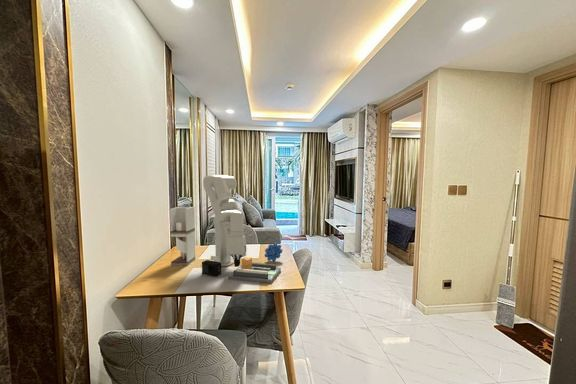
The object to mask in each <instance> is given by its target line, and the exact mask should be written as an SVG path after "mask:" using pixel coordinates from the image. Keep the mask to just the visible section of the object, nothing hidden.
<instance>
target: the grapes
mask: <svg viewBox="0 0 576 384" xmlns="http://www.w3.org/2000/svg"><path fill="white" fill-rule="evenodd" d="M264 252H265V253H264V257H265V258H266V259H267V261H269V262H271V261H272V262H275V261H277V259H280V258H281V254H282V253H283V249H282V245H281V244H278V243H277V242H273V244H272V243H270V244H268V246H267V248H265V249H264Z"/></svg>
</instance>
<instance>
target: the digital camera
mask: <svg viewBox="0 0 576 384" xmlns="http://www.w3.org/2000/svg"><path fill="white" fill-rule="evenodd" d="M201 274H202V275H206V276H211V277H215V278H217V277H219V276H221V275H222V266H221V262H216V261H214V260H211V259H206V260H204V261H202V262H201Z"/></svg>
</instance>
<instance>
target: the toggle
mask: <svg viewBox="0 0 576 384" xmlns="http://www.w3.org/2000/svg"><path fill="white" fill-rule="evenodd" d="M252 263H253V257H250V256H244V257H243V258H241V265H242V269H249V270H253V269H254V268H252Z"/></svg>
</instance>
